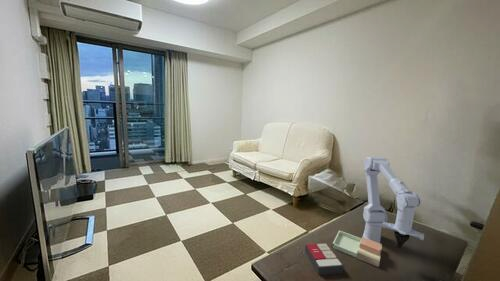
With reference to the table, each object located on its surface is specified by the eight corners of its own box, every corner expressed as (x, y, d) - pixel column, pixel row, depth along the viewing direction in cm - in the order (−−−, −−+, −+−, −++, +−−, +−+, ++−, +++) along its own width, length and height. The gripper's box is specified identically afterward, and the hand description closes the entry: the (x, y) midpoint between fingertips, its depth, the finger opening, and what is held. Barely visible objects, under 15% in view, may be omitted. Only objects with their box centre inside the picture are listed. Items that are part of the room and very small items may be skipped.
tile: (361, 241, 103) (362, 237, 102) (380, 248, 98) (381, 243, 98) (359, 248, 98) (360, 243, 98) (379, 255, 93) (380, 250, 93)
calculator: (326, 242, 101) (343, 264, 86) (325, 250, 101) (343, 273, 87) (305, 243, 100) (319, 266, 85) (304, 251, 100) (318, 275, 85)
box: (338, 233, 113) (339, 230, 113) (360, 242, 107) (361, 238, 106) (331, 247, 102) (332, 243, 102) (356, 257, 96) (356, 253, 95)
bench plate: (360, 242, 107) (361, 237, 106) (381, 249, 102) (382, 244, 101) (356, 257, 96) (357, 252, 95) (378, 267, 91) (379, 261, 90)
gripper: (384, 217, 90) (379, 244, 93) (427, 230, 82) (420, 259, 84) (384, 211, 96) (380, 237, 98) (425, 222, 88) (419, 250, 90)
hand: (399, 247), depth 92 cm, fingers closed
